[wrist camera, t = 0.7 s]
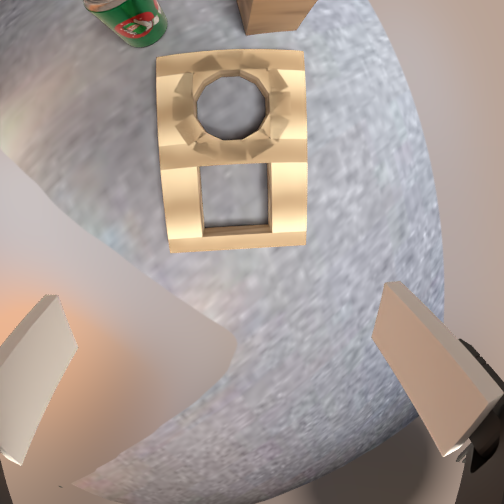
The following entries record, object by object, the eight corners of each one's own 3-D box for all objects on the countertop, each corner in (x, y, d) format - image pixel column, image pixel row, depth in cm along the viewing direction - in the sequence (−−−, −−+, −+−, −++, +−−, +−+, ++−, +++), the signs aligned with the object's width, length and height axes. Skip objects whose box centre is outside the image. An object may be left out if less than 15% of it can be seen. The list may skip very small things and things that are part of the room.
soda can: (134, 10, 20) (95, -38, 9) (175, 14, 21) (150, -42, 10) (118, 47, 22) (67, 10, 11) (159, 51, 23) (122, 7, 12)
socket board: (163, 64, 23) (156, 57, 21) (296, 58, 24) (303, 51, 22) (175, 242, 31) (170, 253, 28) (299, 235, 32) (305, 244, 29)
